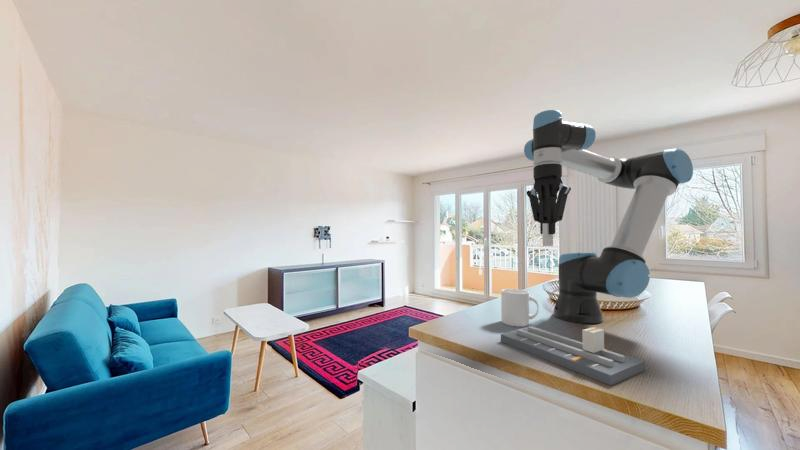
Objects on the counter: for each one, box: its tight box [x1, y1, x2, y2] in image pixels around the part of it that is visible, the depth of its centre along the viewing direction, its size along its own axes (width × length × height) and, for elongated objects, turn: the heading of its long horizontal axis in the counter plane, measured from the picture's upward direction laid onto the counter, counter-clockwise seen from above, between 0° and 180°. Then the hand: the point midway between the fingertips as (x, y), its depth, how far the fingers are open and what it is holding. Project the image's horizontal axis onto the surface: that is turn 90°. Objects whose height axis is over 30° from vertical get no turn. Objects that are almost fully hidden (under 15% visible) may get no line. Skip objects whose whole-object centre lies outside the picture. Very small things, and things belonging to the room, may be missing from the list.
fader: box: [581, 326, 605, 356], centre depth 70 cm, size 4×2×6 cm, turn 119°
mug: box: [500, 288, 539, 328], centre depth 102 cm, size 9×12×11 cm
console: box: [500, 326, 646, 386], centre depth 76 cm, size 14×28×3 cm, turn 29°
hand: (547, 245), depth 90 cm, fingers closed
